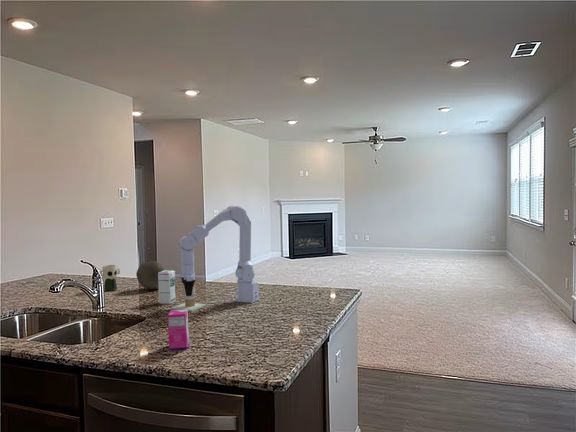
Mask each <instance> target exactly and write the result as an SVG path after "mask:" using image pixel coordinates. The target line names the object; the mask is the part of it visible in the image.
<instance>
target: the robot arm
mask: <svg viewBox="0 0 576 432" xmlns="http://www.w3.org/2000/svg"><path fill="white" fill-rule="evenodd" d="M227 221H233V222H234V223H235V224H236V225H237V226H239V242H238V243H239V249H238V250H239V252H238V253H239V256H238V257H239V259H238V262H237V266H236V268H235V269H236V270H235V276H236V278H237V280H236V282H237V283H236V285H237V289H236V291H237V299H234V301H233V302H237V303H249V304H253V303H255V302H257V301H259V300H260V295H259V294H260V287H259V283H258V282H257V281H254V279H255V275H256V274H255V272H254V266H253V263H252V262H251V261H252V260H251V259H252V258H251V256H252V255H251V253H252V250H251V249H252V248H251V247H252V222H251V220H250V218H249V215H248V214H247V211H246V209H244V208H242V206H239V205H236V206H235V205H229V206H228V207H227V208H225V209H223V210H222V211H220V212H219V213H218V214H216V215H215V216H214V217H213V218H212V219H211V220H209V221H208V222H207V223H206V224H200V225H196V226H195V227H194V228H195V229H193V230H191V231H190V232H187V233H186V235H187V236H186V235H184V236H182V237H181V238H179V239H180V240H179V242H178V245H179V247H180V272H181V273H178V277H180V279H181V282H182V284H183V287H185V289H184V293H185V292H186V296H191V295H192V289H193V285H194V286H195V283H196V279H194V280H192V277H193V276H196V273H195V250H194V249H195V248H196V245H197V244H199V243H200V242H201V241H203V240H204V239H205V238H206V237H208V236H209V232H210V231H211V230H213V229H215V228H216V227H217V226H218V225H220V224H221V223H222V222H227ZM184 277H185V278H187V279H186V280H184Z"/></svg>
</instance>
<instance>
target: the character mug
mask: <svg viewBox="0 0 576 432" xmlns="http://www.w3.org/2000/svg"><path fill="white" fill-rule="evenodd" d="M120 272H121V269H120V267H118V265H117V264H106V265H103V266H102V270H100V271H99V275H100V274H101V276H102V277H103V279H105V280H104V286H103V289H104V290H105V291H108V290H109V291H114V290H117V289H118V286H117V281H116V278H117V277H118V275H119V274H121V273H120ZM102 277H101V278H102ZM113 289H114V290H113Z"/></svg>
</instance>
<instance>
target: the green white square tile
mask: <svg viewBox="0 0 576 432" xmlns="http://www.w3.org/2000/svg"><path fill="white" fill-rule="evenodd" d="M206 306H207V303H199V302H195V306H191V307H187V306H185V302H183V303H180V304H178V305H175V306H172V307H170V310H188V312H194V311H196V310H199V309H201V308H204V307H206Z"/></svg>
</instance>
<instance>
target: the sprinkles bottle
mask: <svg viewBox="0 0 576 432" xmlns="http://www.w3.org/2000/svg"><path fill="white" fill-rule="evenodd" d="M195 276H196V275H195ZM195 276H193V277H192V280H196V278H195ZM183 278H184V280H186V279H187V278H185V277H183ZM183 287H184V286H183ZM195 288H196V287H195V284H194V285H193V289H192V295H191V296H186V292H185V291H184V303H185V306H187V307H191V306H195V303H196V289H195ZM184 290H185V287H184Z"/></svg>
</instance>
